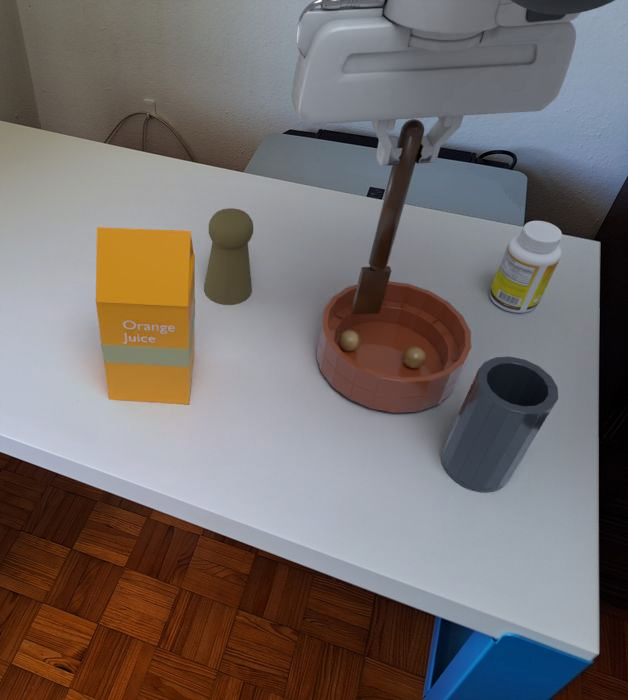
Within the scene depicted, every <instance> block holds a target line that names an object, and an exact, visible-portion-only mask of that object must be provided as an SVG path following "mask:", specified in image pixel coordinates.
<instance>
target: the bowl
mask: <svg viewBox="0 0 628 700" xmlns="http://www.w3.org/2000/svg"><path fill="white" fill-rule="evenodd" d="M357 285H358V283H357V284H354V285H351V286H347V287H346V288H344V289H343V290H341V291H339V292H338V293H336V294H335V295H333V296H332V297H331V299H330V300H329V302H328V303H327V305H326V306H325V307H324V308H323V312H322V313H323V314H322V318H321V319H322V320H321V324H320V329H319V335H318V341H317V346H316V352H315V357H316V359H317V363H318V366H319V367H318V368H319V370H320V373H321V374H322V375H323V376H324V378H325V379H326V381H327V382H328V383H329V384H330V385H331V387H332V388H333V389H335V390H336V391H337V392H339V393H340V394H342V395H343V396H344V397H346V398H347V399H348V400H350V401H353V402H355V403H357V404H359V405H362V406H363V407H366V408H369V409H371V410H376V411H381V412H388V413H395V414H399V413H400V414H401V413H415V412H416V413H417V412H421V411H424V410H426V409H429V408H432V407H435V406H437V405H440V403H442V402H443V401H444V400H445V399H446V398H448V397H449V396H450V395H452V393H453V391H454V389H455V388H456V387H455V386H456V385H457V383H458V380H459V378H460V376H461V374H462V372H463V369H464V367H465V364H466V361H467V359H468V357H469V354H470V353H471V351H472V332H471V330H470V327H469V325H468V323H467V322H466V319H465V318H464V316H463V314H461V313H460V312H459V311H458V310H457V309H456V308H455V306H453V305H452V304H451V303H450V302H449V301H447V300H446V299H445V298H443V297H440V296H439V295H438V294H436V293H434V292H432V291H431V290H429V289H426V288H423V287H419V286H417V285H414V284H411V283H406V282H399V281H392V280H389V281H388V284H387V288H386V291H385V295H384V298H383V302H382V305H381V309H380V313H379V314H355V315H353V314H352V311H351V310H352V305H353V301H354V297H355V293H356V289H357ZM346 330H353V331H355V332H357V333H358V334H359V336H360V338H361V343H360V346H359V347H358V348H357V349H356V350H354V351H345V350H343V349H342V348H341V347H340V345H339V337H340V335H341V334H342V333H343V332H344V331H346ZM413 346H415V347H419V348H421V349H422V350H423V351H424V352H425V354H426V361H425V363H424V364H423V365H422V366H421V367H419V368H410V367H408V366H406V365H405V363H404V361H403V353H404V352H405V350H406V349H408V348H409V347H413Z"/></svg>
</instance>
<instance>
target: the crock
mask: <svg viewBox="0 0 628 700" xmlns="http://www.w3.org/2000/svg"><path fill="white" fill-rule="evenodd" d="M558 401H559V388H558V385H557V383H556V382H555V380H554V379H553V377H552V376H551V375H550V374H549V373H548V372H546V371H545V370H544V369H543V368H542V367H541V366H539V365H537V364H536V363H533V362H531V361H529V360H527V359H524V358H519V357H514V356H495V357H493V358H491V359H488V360H486V361H484V362H483V363H482V364H481V366H480V367H479V368H478V370H477V372H476V374H475V376H474V378H473V380H472V382H471V384H470V387H469V389H468V392H467V394H466V396H465V398H464V401H463V403H462V405H461V407H460V410H459V412H458V414H457V416H456V418H455V421H454V422H453V425H452V428H451V429H450V431H449V434H448V437H447V438H446V441H445V443H444V445H443V448H442V451H441V464H442V467H443V468H444V471H445V472H446V473H447V475H448V476H449V477H450V478H451V479H452V480H453V481H454V482H455V483H456V484H458V485H459V486H461V487H463V488H465V489H467V490H470V491H473V492H476V493H492V492H493V493H494V492H497V491H500V490H501V489H503V488H504V487H506V486H507V485H508V483H509V481H510V480H511V478H512V477H513V475H514V473H515V472H516V470H517V469H518V467H519V465H520V463H521V462H522V460H523V459H524V457H525V455H526V453H527V452H528V450H529V448H530V447H531V445H532V443H533V442H534V440H535V438H536V437H537V435H538V433H539V432H540V430H541V429H542V427H543V425H544V423H546V420H547V418H548V417H549V415H550V414H551V412H552V410H553V409H554V407H555V406H556V403H557V402H558Z"/></svg>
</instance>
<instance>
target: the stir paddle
mask: <svg viewBox="0 0 628 700" xmlns="http://www.w3.org/2000/svg"><path fill="white" fill-rule="evenodd" d="M424 133H425V127H424V123H423V122H422V121H421V120H420V119H418V118H412V119H409V120H408V119H407V121H405V123H403V125H402V126H401V129H400V133H399V137H398V143H399V144H401V146H402V148H403V149H402V153H401V156H400V157H399V159H400V161H399V164H398V165H391V168H390V169H391V170H390V173H389V178H388V182H387V186H386V189H385V194H384V197H383V202H382V206H381V209H380V214H379V217H378V222H377V226H376V230H375V233H374V236H373V237H374V238H373V242H372V246H371V250H370V254H369V257H368V266H362V267H361V268H360V271H359V277H358V281H357V284H358V285H357V284H356V285H357V289H356V293H355V297H354V301H353V305H352V310H351V311H352V314H353V315H355V314H379V313H380V309H381V305H382V302H383V298H384V295H385V291H386V288H387V284H388V281H390V277H391V273H392V268H391V266H390V265H388V264H389V261H390V257H391V253H392V250H393V246H394V243H395V240H396V236H397V232H398V228H399V225H400V221H401V217H402V214H403V210H404V207H405V202H406V199H407V196H408V192H409V188H410V186H411V181H412V177H413V173H414V170H415V167H416V164H417V163H416V160H417V156H418V152H419V149H420V145H421V142H422V138H423V136H424Z"/></svg>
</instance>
